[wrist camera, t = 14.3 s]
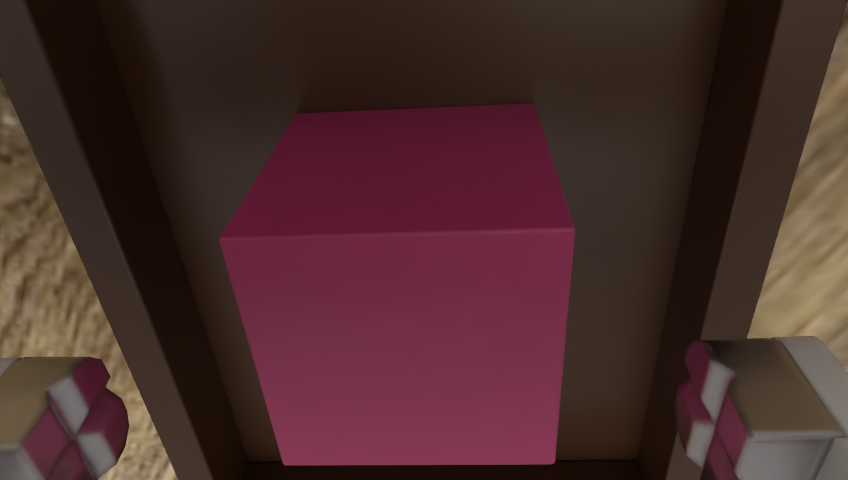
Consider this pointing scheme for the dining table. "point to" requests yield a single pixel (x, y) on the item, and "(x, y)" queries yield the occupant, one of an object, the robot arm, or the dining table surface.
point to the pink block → (407, 287)
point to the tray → (425, 88)
